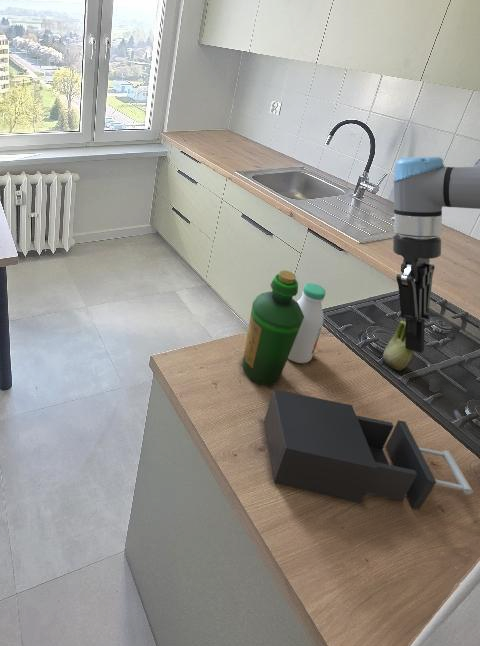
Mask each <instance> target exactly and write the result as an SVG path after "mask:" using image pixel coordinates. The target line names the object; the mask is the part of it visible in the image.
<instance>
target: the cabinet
mask: <svg viewBox="0 0 480 646" xmlns="http://www.w3.org/2000/svg"><path fill="white" fill-rule="evenodd" d="M356 415H357V414H356V411H355V409H354V407H353V404H350V403H343V402H339V401H334V400H329V399H325V398H324V399H323V398H319V397H314V396H309V395H303V394H299V393H294V392H289V391H284V390H279V389H273V390H272V394H271V397H270V400H269V404H268V407H267V410H266V413H265V416H264V420H263V426H264V431H265V432H264V433H265V439H266V444H267V449H268V450H267V451H268V455H269V456H268V457H269V462H270V467H271V474H272V480H273V483H274V484H278V485H282V486H285V487H286V486H287V487H291V488H295V489H299V490H302V491H303V490H304V491H307V492H312V493H316V494H321V495H325V496H329V497H333V498H337V499H341V500H346V501H351V502H354V503H358V504H361V502H362V501H363V499H364V497H365V495H366V494H367V493H366V491H367V489H368V487H369V485H370V483H371V481H372V479H373V477H374V475H375V472H376V471H377V466H376V463H375V461H374V458H373V456H372V453H371V451H370V448H369V446H368V443H367V441H366V438H365V436H364V433H363V431H362V429H361V426H360V424H359V421H358V419H357V416H358V415H357V416H356Z"/></svg>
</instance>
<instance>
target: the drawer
mask: <svg viewBox="0 0 480 646" xmlns="http://www.w3.org/2000/svg"><path fill="white" fill-rule="evenodd" d="M356 416H357V419H358V421H359V424H360V426H361V429H362V431H363V433H364V436H365V438H366V441H367V443H368V446H369V448H370V451H371V453H372V456H373V458H374V461H375V463H376V466H377V471H376V472H375V475H374V477H373V479H372V481H371V483H370V485H369V487H368V489H367V491H366V493H365V494H370V495H374V496H379V497H382V498H387V499H391V500H394V501H395V500H396V501H400V502H403V501H404V499H405V497H407V500H408V502H409V505H410V507H411V509H413V510H417V511H420V510H421V508H422V507H423V506H424V504H425V502H426V501H427V499H428V497H429V496H430V493H431V492H432V490H433V488H434V487H435V486H441V487H445V488H450V489H454V490H458V491H462V492H463V494H464V495H471V494H473V493H474V490H473V488H472V487H471V485H470V483H469V482H468V480H467V478H466V477H465V475H464V474H463V472H462V469H461V468H460V466H459V465H458V463H457V461H456V459H455V457H454V456H453V454H452V453H451V451H450V450H446V449H445V450H441V451H440V450H436V449H431V448H425V447H421V446H419V445H418V443H417V441H416V439H415V438H414V436H413V434H412V432H411V430H410V428H409V426H408V424H407V422H406V421H405V420H400V419H398V420H397V422H396V424H395V426H394V424H393V422H390V421H385V420H382V419H375V418H373V417H372V418H371V417H366V416H361V415H357V414H356ZM384 448H385V450H386V452H387V455H388V457H389V459H390V461H391V464H390V463H389V461H388V458H387V456H386V453H385V451H384ZM423 454H427V455H433V456H438V457H441V458H443V459H444V461H445V462H446V465H447V466H448V467H449V469H450V471H451V473H452V475H453V476H454V478H455V480H456V482H457V483H454V482H450V481H447V480H442V479H441V480H440V479H437V478H435V476H434V475H433V472H432V471H431V469H430V467H429V465H428V463H427V461H426V459H425V457H424V455H423Z"/></svg>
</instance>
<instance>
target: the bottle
mask: <svg viewBox="0 0 480 646" xmlns="http://www.w3.org/2000/svg"><path fill="white" fill-rule="evenodd" d="M270 288H271V291H266V292H262V293H260V294H259V295H257V296H256V297H255V299H254V300H253V302H252V305H251V311H250V317H249V322H248V329H247V334H246V340H245V346H244V353H243V359H242V368H243V372H244V373H245V375H246V376H247V377H248V378H249V379H251V380H252V381H254V382H256V383H258V384H260V385H266V386H272V385H275V384H278V382H279V381H280V378H281V376H282V374H283V371H284V369H285V366H286V364H287V361H288V360H289V359H288V356H289V354H290V351H291V349H292V346H293V344H294V341H295V339H296V336H297V334H298V331H299V329H300V326H301V324H302V321H303V319H304V315H303V313H302V311H301V308H300V306H299V304H298V303H297V301H296V300H295V299H294V297H296V296H297V295H298V292H299V282H298V280H297V275H296V274H295V273H293V272H292V271H289V270H280V271H279V273H278V274H275V276H274V278H273V279H272V281H271V283H270Z"/></svg>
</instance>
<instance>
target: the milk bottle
mask: <svg viewBox="0 0 480 646" xmlns="http://www.w3.org/2000/svg"><path fill="white" fill-rule="evenodd" d="M301 293H302V296H301V297H300V298H299V299H298V300H297V301H296V302H297V303H298V304H299V306H300V308H301V311H302V313H303V315H304V319H303V321H302V324H301V326H300V329H299V331H298V334H297V336H296V339H295V341H294V344H293V346H292V349H291V351H290V354H289V356H288V359H287V360H290V361H292V362H294V363H297V364H306V363H309V362H310V361H311V360H312V358H313V357H314V354H315V351H316V347H317V345H318V342H319V339H320V336H321V332H322V328H323V325H324V320H325V318H324V310H323V307H322V306H323V305H322V302H323V301H324V299H325V296H326V290H325V288H324V287H323V286H322V285H320V284H317V283H312V282H308V283H305V285H304V286H303V290H302V292H301Z"/></svg>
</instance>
